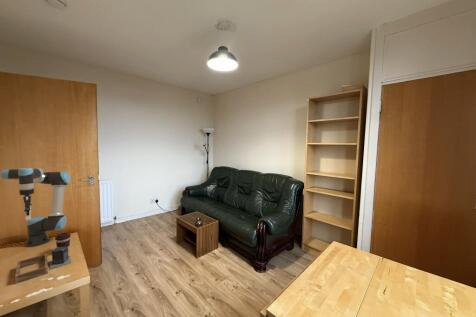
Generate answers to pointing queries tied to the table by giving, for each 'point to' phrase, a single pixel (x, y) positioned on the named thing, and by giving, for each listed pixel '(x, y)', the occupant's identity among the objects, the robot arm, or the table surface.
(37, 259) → the shallow wooden tray
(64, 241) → the coffee cup
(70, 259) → the pad
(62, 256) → the box
